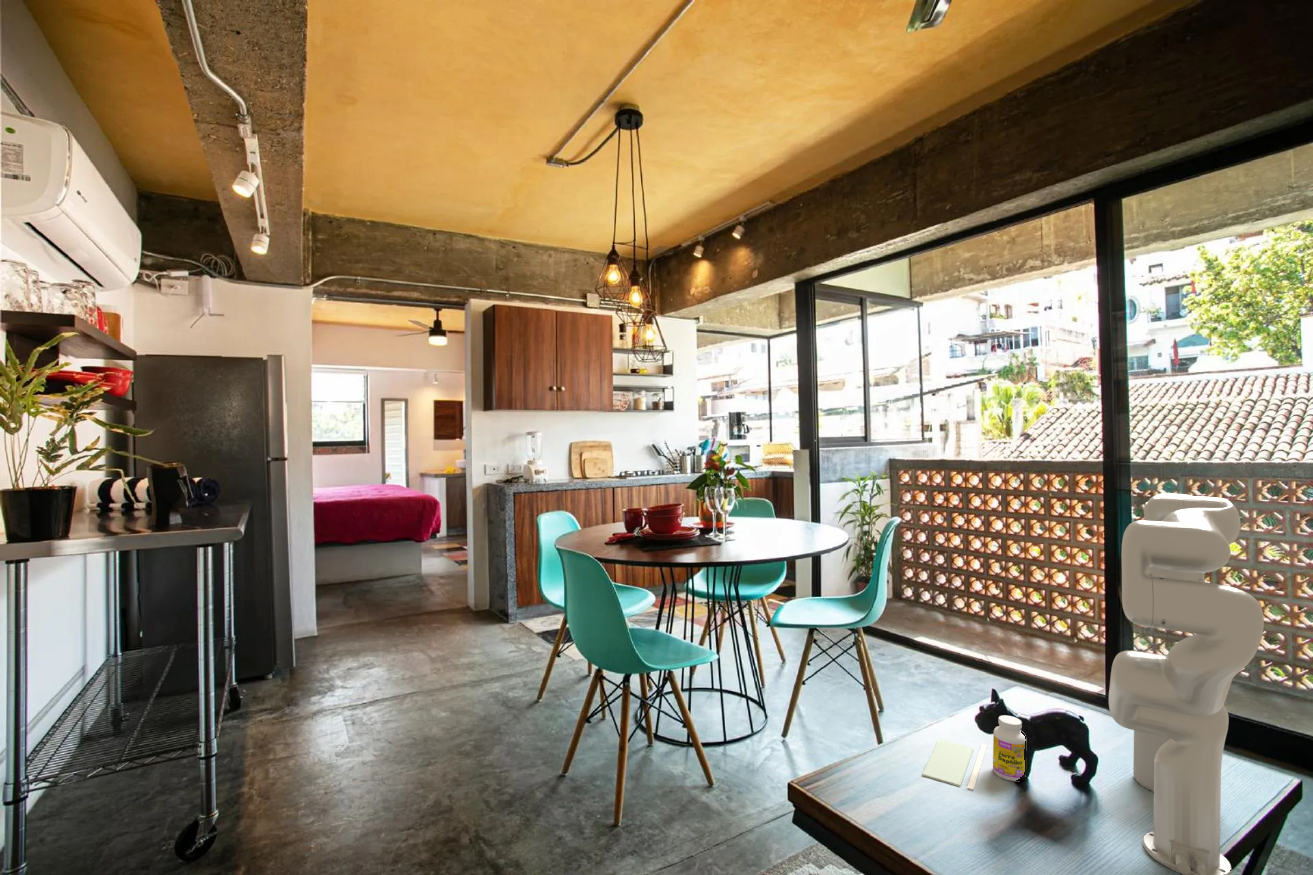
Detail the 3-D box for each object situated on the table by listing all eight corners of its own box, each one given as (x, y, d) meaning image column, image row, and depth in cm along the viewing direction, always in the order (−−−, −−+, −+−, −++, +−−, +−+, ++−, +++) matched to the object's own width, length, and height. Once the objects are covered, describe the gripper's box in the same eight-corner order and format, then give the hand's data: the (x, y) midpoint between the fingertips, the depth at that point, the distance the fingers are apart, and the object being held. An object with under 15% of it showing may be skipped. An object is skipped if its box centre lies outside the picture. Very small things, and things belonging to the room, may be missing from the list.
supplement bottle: (992, 777, 144) (993, 722, 144) (992, 764, 150) (993, 710, 150) (1026, 785, 141) (1027, 728, 141) (1025, 771, 147) (1025, 716, 147)
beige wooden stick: (973, 790, 139) (973, 789, 139) (967, 788, 140) (967, 787, 140) (987, 746, 159) (987, 744, 159) (981, 744, 159) (981, 743, 159)
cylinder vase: (1178, 773, 147) (1179, 666, 146) (1220, 804, 134) (1222, 688, 134) (1120, 769, 148) (1122, 664, 148) (1157, 800, 135) (1159, 685, 135)
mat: (960, 786, 140) (960, 784, 140) (922, 775, 145) (922, 773, 145) (973, 749, 157) (973, 748, 157) (938, 740, 161) (938, 739, 161)
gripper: (1125, 548, 138) (1124, 626, 138) (1230, 558, 128) (1229, 641, 129) (1123, 543, 144) (1122, 618, 144) (1223, 552, 135) (1222, 632, 135)
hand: (1172, 629), depth 136 cm, fingers open, 9 cm apart
